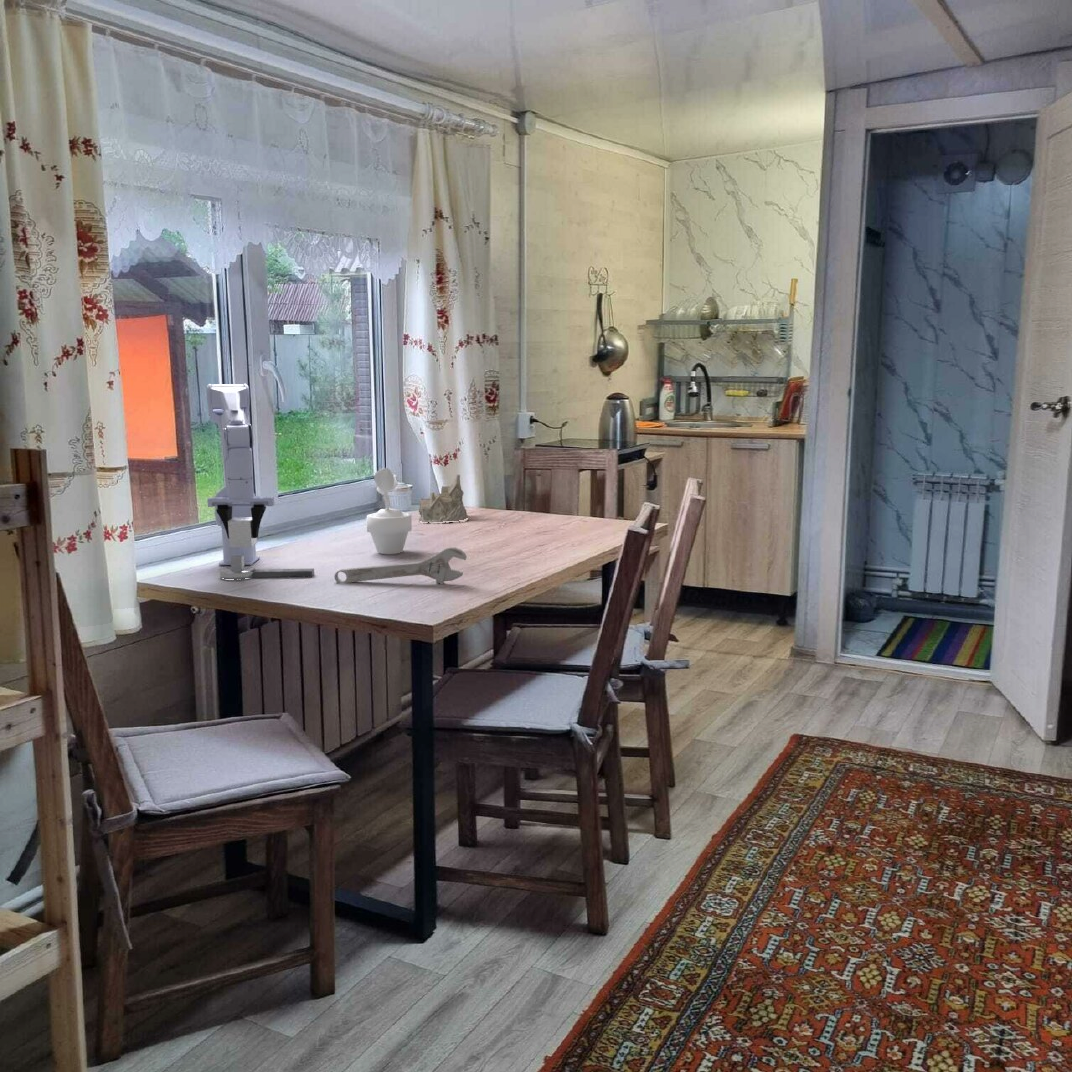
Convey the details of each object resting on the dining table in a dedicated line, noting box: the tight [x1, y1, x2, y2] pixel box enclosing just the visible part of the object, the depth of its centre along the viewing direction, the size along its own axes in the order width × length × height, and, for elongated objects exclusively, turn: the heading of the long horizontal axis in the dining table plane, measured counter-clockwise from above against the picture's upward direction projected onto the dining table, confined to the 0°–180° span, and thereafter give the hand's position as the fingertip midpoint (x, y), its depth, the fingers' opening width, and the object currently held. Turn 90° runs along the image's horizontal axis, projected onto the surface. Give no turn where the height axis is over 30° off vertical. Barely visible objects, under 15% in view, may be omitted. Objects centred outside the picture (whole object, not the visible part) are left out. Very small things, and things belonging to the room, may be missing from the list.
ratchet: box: [219, 555, 315, 581], centre depth 232 cm, size 8×21×5 cm, turn 93°
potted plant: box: [366, 458, 413, 555], centre depth 260 cm, size 13×12×25 cm
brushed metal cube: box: [228, 517, 258, 547], centre depth 231 cm, size 5×5×6 cm
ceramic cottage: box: [418, 474, 469, 522], centre depth 315 cm, size 16×16×15 cm
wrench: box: [334, 546, 468, 585], centre depth 224 cm, size 8×2×30 cm
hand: (242, 537), depth 231 cm, fingers closed on brushed metal cube, 5 cm apart
